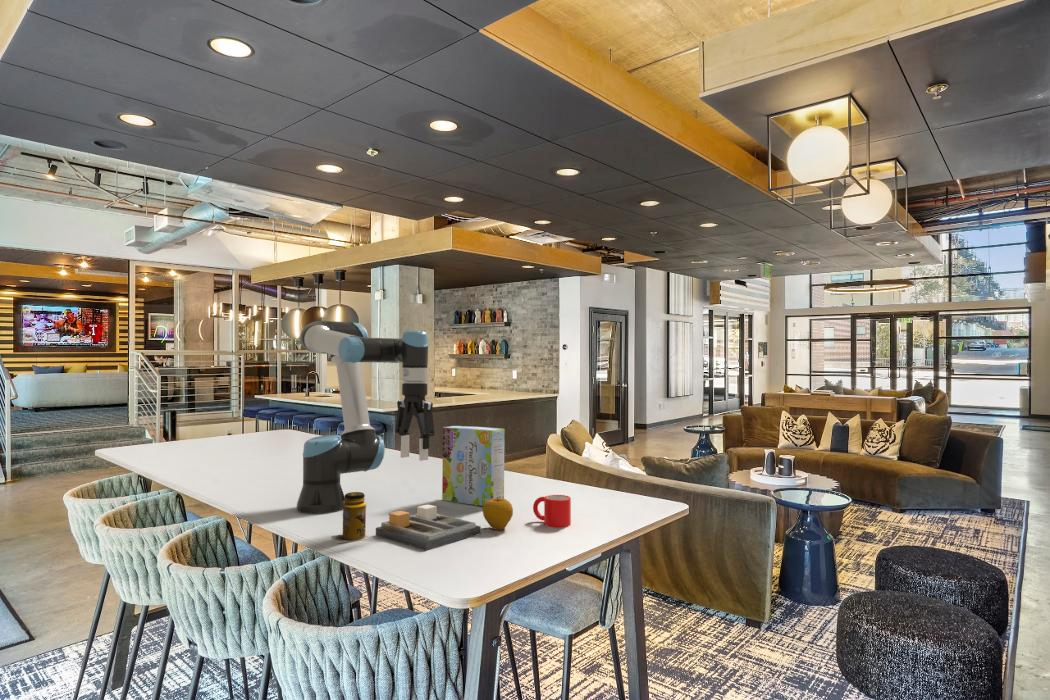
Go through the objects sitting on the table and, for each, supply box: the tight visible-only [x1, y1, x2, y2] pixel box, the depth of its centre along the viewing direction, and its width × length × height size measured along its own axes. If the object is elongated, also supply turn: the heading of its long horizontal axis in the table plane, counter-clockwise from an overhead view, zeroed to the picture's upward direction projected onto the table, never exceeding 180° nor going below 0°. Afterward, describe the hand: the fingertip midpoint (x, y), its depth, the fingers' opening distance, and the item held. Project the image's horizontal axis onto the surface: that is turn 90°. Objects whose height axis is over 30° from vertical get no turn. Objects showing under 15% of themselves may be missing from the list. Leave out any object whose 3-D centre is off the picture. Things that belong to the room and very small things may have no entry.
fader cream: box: [416, 504, 438, 520], centre depth 175 cm, size 4×4×4 cm
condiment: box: [331, 491, 370, 544], centre depth 164 cm, size 7×8×12 cm
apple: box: [482, 498, 514, 531], centre depth 173 cm, size 9×9×9 cm
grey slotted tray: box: [375, 513, 482, 551], centre depth 167 cm, size 21×20×3 cm
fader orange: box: [388, 510, 411, 527], centre depth 167 cm, size 4×4×4 cm
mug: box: [532, 494, 572, 529], centre depth 180 cm, size 8×12×8 cm, turn 65°
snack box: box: [441, 425, 506, 507], centre depth 207 cm, size 22×9×26 cm, turn 58°
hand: (414, 458), depth 179 cm, fingers open, 8 cm apart
